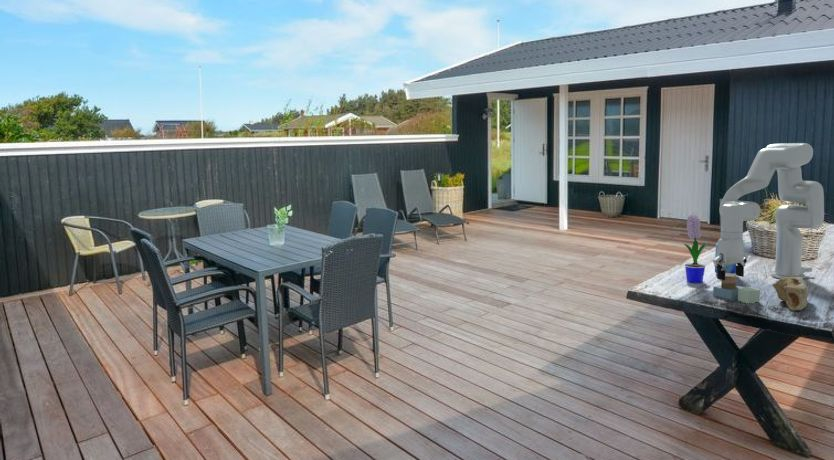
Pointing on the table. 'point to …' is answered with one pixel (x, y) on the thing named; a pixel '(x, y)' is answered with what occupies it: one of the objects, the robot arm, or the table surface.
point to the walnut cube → (729, 281)
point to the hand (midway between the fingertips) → (730, 277)
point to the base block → (726, 292)
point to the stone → (792, 292)
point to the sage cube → (748, 295)
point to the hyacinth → (694, 251)
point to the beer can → (728, 268)
